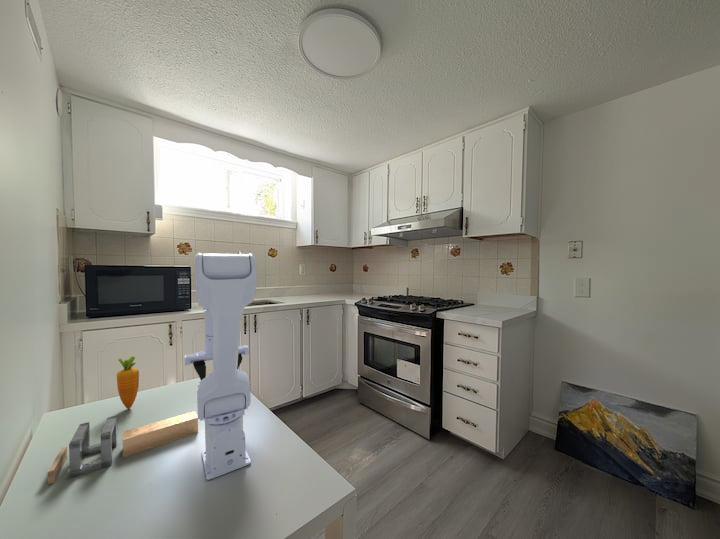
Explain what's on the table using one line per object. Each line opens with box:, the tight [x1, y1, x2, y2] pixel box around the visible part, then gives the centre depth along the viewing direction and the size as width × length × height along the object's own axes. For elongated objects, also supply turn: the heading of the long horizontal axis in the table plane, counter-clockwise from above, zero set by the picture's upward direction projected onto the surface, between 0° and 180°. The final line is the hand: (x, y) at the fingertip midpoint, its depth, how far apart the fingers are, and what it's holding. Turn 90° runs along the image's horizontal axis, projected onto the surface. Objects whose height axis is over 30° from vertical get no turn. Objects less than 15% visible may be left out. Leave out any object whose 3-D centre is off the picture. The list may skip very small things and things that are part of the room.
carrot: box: [116, 355, 140, 410], centre depth 80 cm, size 5×5×15 cm
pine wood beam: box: [121, 410, 199, 458], centre depth 66 cm, size 4×14×4 cm, turn 129°
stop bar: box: [47, 446, 68, 486], centre depth 56 cm, size 8×1×2 cm, turn 34°
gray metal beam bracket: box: [65, 415, 118, 480], centre depth 59 cm, size 8×6×6 cm
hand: (218, 386), depth 73 cm, fingers open, 6 cm apart
